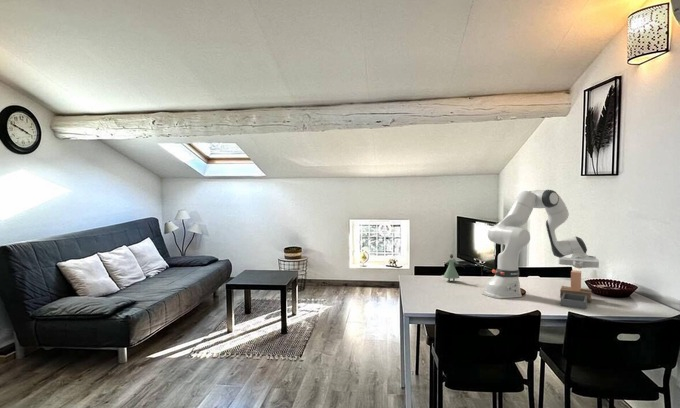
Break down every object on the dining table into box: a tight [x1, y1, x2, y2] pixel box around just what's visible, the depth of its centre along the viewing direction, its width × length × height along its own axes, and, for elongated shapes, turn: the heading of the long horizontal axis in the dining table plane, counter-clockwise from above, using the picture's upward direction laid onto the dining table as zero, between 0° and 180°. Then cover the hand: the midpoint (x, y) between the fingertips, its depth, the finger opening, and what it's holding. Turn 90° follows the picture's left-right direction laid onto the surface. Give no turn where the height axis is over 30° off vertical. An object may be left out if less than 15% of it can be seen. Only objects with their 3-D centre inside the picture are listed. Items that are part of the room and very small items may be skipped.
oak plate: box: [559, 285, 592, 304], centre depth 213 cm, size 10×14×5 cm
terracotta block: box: [570, 269, 582, 291], centre depth 213 cm, size 6×4×10 cm
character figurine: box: [441, 254, 464, 282], centre depth 254 cm, size 16×8×18 cm, turn 80°
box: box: [560, 293, 588, 310], centre depth 202 cm, size 15×11×4 cm
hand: (577, 264), depth 221 cm, fingers closed
